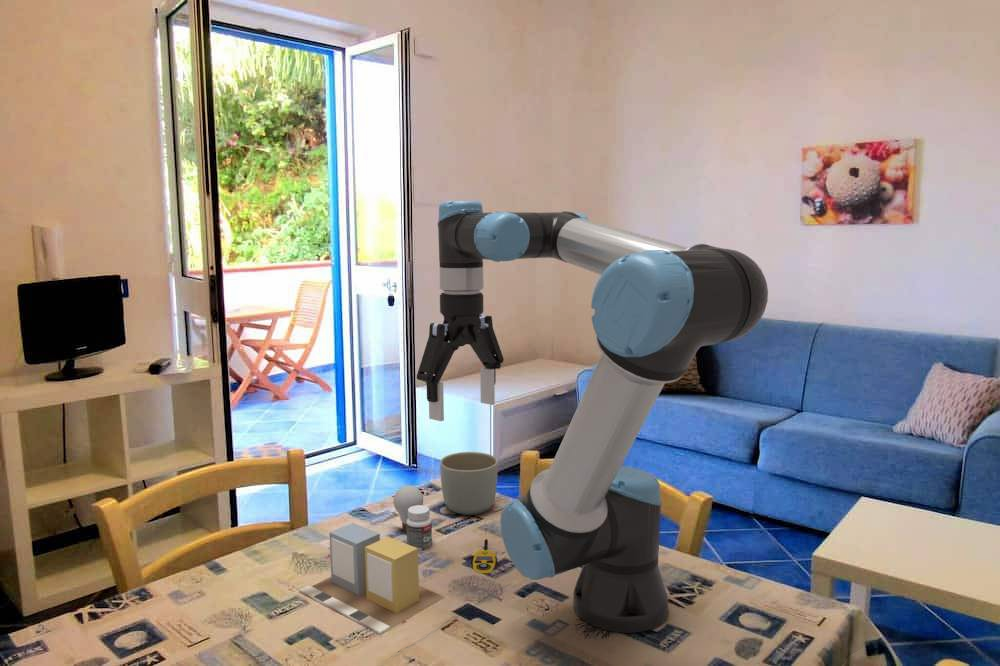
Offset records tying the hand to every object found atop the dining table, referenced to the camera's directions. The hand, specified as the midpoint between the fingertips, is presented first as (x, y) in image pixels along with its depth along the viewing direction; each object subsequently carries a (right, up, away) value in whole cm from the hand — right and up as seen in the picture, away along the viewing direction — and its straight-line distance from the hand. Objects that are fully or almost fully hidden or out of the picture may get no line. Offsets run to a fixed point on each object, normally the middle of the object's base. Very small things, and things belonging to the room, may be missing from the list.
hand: (463, 411), depth 130 cm
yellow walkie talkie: (+4, -29, +6) cm, 29 cm away
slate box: (-18, -29, -5) cm, 34 cm away
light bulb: (-12, -27, +17) cm, 34 cm away
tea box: (-11, -30, -10) cm, 33 cm away
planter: (0, -24, +29) cm, 38 cm away
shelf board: (-15, -30, -9) cm, 35 cm away
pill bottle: (-9, -28, +10) cm, 31 cm away
